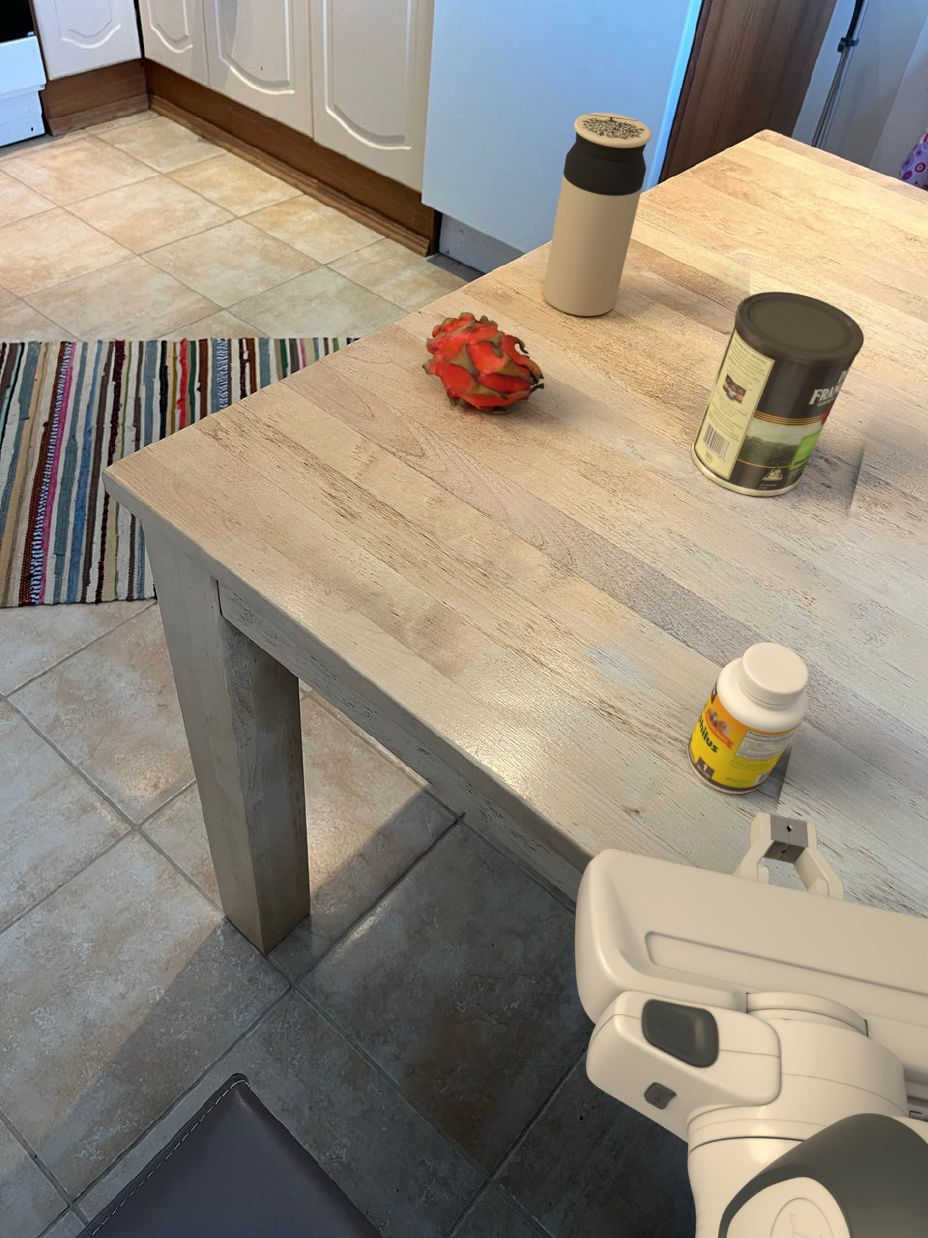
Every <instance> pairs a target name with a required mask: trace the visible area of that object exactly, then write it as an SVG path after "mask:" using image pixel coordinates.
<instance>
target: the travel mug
mask: <svg viewBox="0 0 928 1238" xmlns="http://www.w3.org/2000/svg"><path fill="white" fill-rule="evenodd" d="M573 127H574V130H575V142H574V143H573V145H572V146H571V148H570V149H569V150H568V152H567V153H566V156H565V161H564V166H563V172H562V179H561V185H560V191H559V197H558V202H557V208H556V212H555V213H556V214H555V219H554V226H553V232H552V237H551V243H550V249H549V254H548V261H547V267H546V271H545V272H546V273H545V279H544V283H543V284H544V285H543V290H542V294H543V297H544V299H545V301H546V302H548V304H549V305H551V306H552V307H554V308H555V309H557V310H559V311H562V312H564V313H566V314H568V315H569V314H570V315H574V316H578V317H591V316H599V315H604V314H607V313H609V312H610V311H611V310H612V309H613V308H614V307H615V304H616V301H617V297H618V293H619V287H620V284H621V280H622V275H623V272H624V267H625V262H626V258H627V254H628V249H629V245H630V241H631V237H632V232H633V228H634V224H635V219H636V215H637V211H638V206H639V202H640V198H641V194H642V189H643V186H644V181H645V176H646V172H647V164H646V160H645V157H644V151H645V148H646V145H647V144H648V143H649V142H650V141H651V139H652V131H651V129H650V128H649V127H648V126H647V125H646V124H645V123H643V122H641V121H640V120H637V119H635V118H633V117H631V116H627V115H622V114H619V113H613V112H589V113H584V114H582V115H580V116H578V117H577V118H576V119H575V121H574V123H573Z"/></svg>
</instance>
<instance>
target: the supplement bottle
mask: <svg viewBox="0 0 928 1238" xmlns="http://www.w3.org/2000/svg"><path fill="white" fill-rule="evenodd" d="M809 678H810V674H809V669H808V666H807V664H806V662H805V661H804V660H803V658H802V657H801V656H800V655H799V654H797V652H795V651H794V650H792V649H791V648H789V647H787V646H785V645H783V644H780V643H775V642H767V641H766V642H758V643H754V644H753V645H751V646H750V647H749V648H747V649H746V650H745V651H744V653H743V656H741V657H738V658H735V659H733V660H731V661H729V662H728V663H727V664H726V665H725V666H724V667H723V668H722V670H721V671H720V673H719V674H718V677H717V679H716V682H715V683H714V686H713V687H712V690H711V692H710V694H709V697H708V699H707V701H706V702H705V704H704V706H703V709H702V711H701V713H700V716H699V717H698V720H697V721H696V724H695V726H694V728H693V730H692V733H691V734H690V737H689V740H688V741H687V749H686V751H687V753H686V755H687V758H688V762H689V765H690V766H691V768H692V770H693V773H695V774H696V775H697V777H698V778H699V779H700V780H701V781H702V782H703V783H705V784H706V785H707V786H709V787H711V788H713V789H715V790H717V791H719V792H722V793H726V794H732V795H740V794H747V793H750V792H753V791H755V790H757V789H758V788H760V787H761V786H762V785H763V784H764V783H765V781H766V780H767V778H768V777H769V775H770V774H771V773H772V771H773V769H774V767H775V766H776V765H777V763H778V761H779V760H780V758H781V756H782V754H783V753H784V752H785V749H786V748H787V746H788V744H789V743H790V741H791V740H792V738H793V737H794V735H795V733H796V732H797V730H798V728H799V726H800V725H801V723H802V721H804V718H805V716H806V715H807V712H808V708H809V696H808V692H807V690H806V686H808V685H807V684H808V682H809Z"/></svg>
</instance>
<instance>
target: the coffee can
mask: <svg viewBox="0 0 928 1238" xmlns="http://www.w3.org/2000/svg"><path fill="white" fill-rule="evenodd" d="M864 342H865V335H864V333H863V331H862V328H861V327H860V324H858V323H857V321H855V320H854V319H853V317H852V316H850V315H849V314H848V313H846V312H845V311H843V310H842V309H840V308H838V307H836V306H835V305H832V304H831V303H829V302H826V301H823V300H821V299H819V298H815V297H812V296H809V295H805V294H801V293H794V292H790V291H789V292H788V291H763V292H759V293H754V294H751V295H749V296H746V297H745V298H744V299H743V300H741V301H740V302H739V304H738V305H737V308H736V311H735V314H734V322H733V325H732V327H731V330H730V334H729V336H728V340H727V343H726V346H725V349H724V351H723V355H722V358H721V361H720V364H719V366H718V369H717V373H716V375H715V379H714V382H713V385H712V386H711V391H710V393H709V397H708V400H707V402H706V404H705V405H706V406H705V409H704V411H703V414H702V418H701V420H700V424H699V426H698V429H697V432H696V435H695V437H694V439H693V441H692V443H691V446H690V447H691V451H690V452H691V458H692V461H693V463H694V464H695V466H696V467H697V468H698V470H699V471H700V472H701V473H702V474H703V475H704V476H705V477H706V478H707V479H709V480H711V481H712V482H714V483H715V484H717V485H719V486H720V487H722V488H724V489H728V490H729V491H732V492H735V493H738V494H742V495H746V496H751V497H762V498H763V497H764V498H765V497H767V498H769V497H775V496H780V495H784V494H786V493H788V492H790V491H792V490H793V489H794V488H796V487H797V486H798V484H800V482H801V480H802V477H803V472H804V471H805V468H806V466H807V464H808V461H809V459H810V458H811V455H812V453H813V451H814V449H815V446H816V444H817V442H818V440H819V437H820V435H821V433H822V431H823V429H824V427H825V424H826V422H827V420H828V418H829V416H830V414H831V411H832V409H833V406H834V404H835V403H836V400H837V398H838V396H839V394H840V391H841V389H842V387H843V385H844V384H845V381H846V378H847V376H848V374H849V372H850V369H851V367H852V365H853V362H854V361H855V359H856V356H857V355H858V354H859V352H860V351H861V349H862V347H863V345H864Z"/></svg>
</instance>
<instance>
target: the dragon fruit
mask: <svg viewBox="0 0 928 1238" xmlns="http://www.w3.org/2000/svg"><path fill="white" fill-rule="evenodd" d="M498 328H499V324H498V323H497V321H494V320H493V319H492V320H489V318H488V316H487V315H484V314H483V315H482V316H481V317H480V319H479V320H478V319H477V318H476V316H475V315H474V313H472V312H469V311H463V312H460V313H459V316H458V318H456V317H446V318H445V319H444V320H443V321H442V323H439V324H435V326H434V327H433V329H432V331H431V336H432V338H431V337H427V338H426V342H425V348H426V351H427V352H428V353H430V354H431V355H432V358H430V359H427V360H426V361H425V362H424V363H423V364H422V365H421V368H422V369H423V370H424V372H425V375H428V376H435V377H439V379H440V380H441V382H442V385H443V387H444V389H445V392H446V395H447V398H448V401H449V403H450V405H451V406H452V407H457V406H459V405H460V404H461V400H464V401H466V402H467V403H469V404H471V405H472V406H473V407H475V408H476V409H477V410H479V411H481V412H482V411H483V412H485V414H487V415H503V414H508V413H512V411H511V410H510V409H507V408H505V407H503V406H509V405H511V404H512V403H513V402H519V401H527V402H528V401H529V399H530V397H531V395H532V394H533V393H534V392H536V391H537V390H538V389H539V390H544V389H545V383H544V382H542V383H540V381H541V380H544V379H545V377H544V375H543V372H542V370H541V367H540V366H539V364H537V363H536V362H535V360H533V359H531V356H529V354H530V353H529V351H528V350H526V349H525V348H526V344H525V343H524V341H523V340H522V339H520V337H518V336H515V335H512V334H506V333H505V331H503V330H498ZM516 345H518V347H519V350H520V351H521V353H523V354H521V353H520V352H519V351H518V350H517V349H516Z"/></svg>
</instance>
